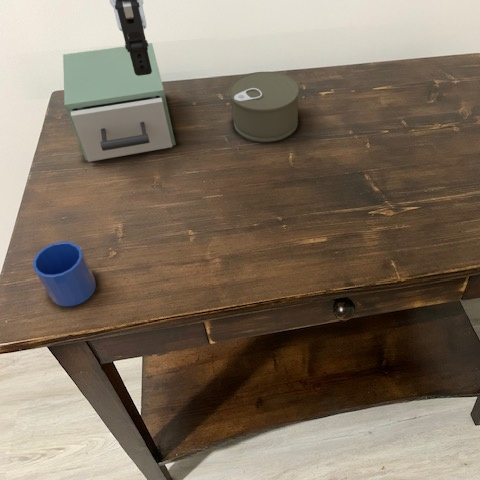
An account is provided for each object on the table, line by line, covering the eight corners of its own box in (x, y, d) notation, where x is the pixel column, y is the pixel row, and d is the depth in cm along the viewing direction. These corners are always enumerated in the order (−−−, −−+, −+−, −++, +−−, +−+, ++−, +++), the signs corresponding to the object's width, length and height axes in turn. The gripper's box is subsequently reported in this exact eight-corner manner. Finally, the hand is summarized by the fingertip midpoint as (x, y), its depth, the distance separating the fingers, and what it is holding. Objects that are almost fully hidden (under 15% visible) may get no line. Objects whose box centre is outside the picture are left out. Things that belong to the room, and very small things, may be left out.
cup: (50, 311, 68) (32, 281, 63) (50, 278, 72) (33, 247, 67) (97, 300, 69) (82, 270, 65) (94, 268, 73) (81, 237, 68)
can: (311, 130, 96) (311, 96, 91) (251, 150, 91) (248, 116, 86) (279, 97, 102) (277, 65, 97) (222, 115, 98) (217, 82, 93)
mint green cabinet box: (175, 145, 92) (163, 89, 84) (85, 160, 88) (64, 104, 80) (163, 96, 102) (151, 42, 94) (82, 108, 98) (63, 54, 90)
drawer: (176, 164, 87) (166, 119, 80) (89, 181, 84) (71, 134, 77) (161, 100, 99) (151, 56, 92) (84, 112, 96) (68, 67, 89)
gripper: (73, -90, 65) (109, 37, 77) (76, -48, 56) (115, 89, 67) (137, -95, 66) (162, 31, 78) (149, -54, 57) (175, 80, 69)
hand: (140, 58), depth 73 cm, fingers open, 8 cm apart
